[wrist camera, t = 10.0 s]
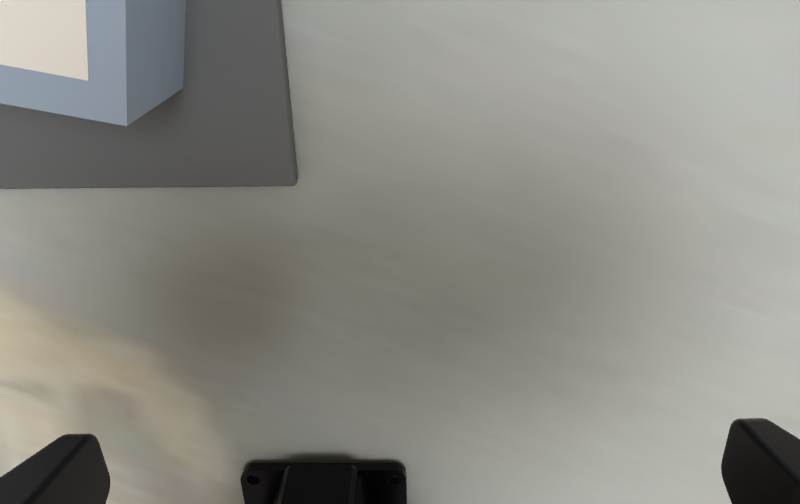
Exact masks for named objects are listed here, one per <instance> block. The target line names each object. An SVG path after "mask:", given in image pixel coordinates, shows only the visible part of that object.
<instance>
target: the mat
mask: <svg viewBox="0 0 800 504" xmlns="http://www.w3.org/2000/svg"><path fill="white" fill-rule="evenodd" d="M297 179H298V177H297V166H296V156H295V145H294V134H293V124H292V113H291V103H290V92H289V82H288V71H287V61H286V50H285V39H284V29H283V18H282V8H281V0H186V14H185V47H184V80H183V88H182V89H181V90H180V91H178V92H177V93H175V94H174V95H172V96H171V97H169V98H168V99H166V100H165V101H163V102H162V103H160V104H159V105H157V106H156V107H154V108H153V109H151V110H150V111H149V112H147V113H146V114H144V115H143V116H141V117H140V118H138V119H137V120H135V121H134V122H132V123H131V124H129V125H128V126H123V125H117V124H112V123H106V122H101V121H95V120H90V119H84V118H79V117H73V116H68V115H62V114H57V113H51V112H46V111H40V110H35V109H29V108H23V107H18V106H12V105H7V104H1V103H0V189H29V188H124V187H219V186H295V184H296V182H297Z"/></svg>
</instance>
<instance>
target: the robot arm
mask: <svg viewBox="0 0 800 504" xmlns="http://www.w3.org/2000/svg"><path fill="white" fill-rule="evenodd" d="M721 471H722V477H723V481H724V484H725V486H726V489H727V492H728V494H729V497H730V500H731V503H732V504H800V439H798V438H797V437H795V436H794V435H792V434H790V433H789V432H787V431H785V430H784V429H782V428H781V427H779V426H777V425H776V424H774V423H773V422H771V421H769V420H767V419H763V418H748V419H737V420H735V421H733V423H732V424H731V427H730V430H729V434H728V438H727V442H726V446H725V450H724V454H723V458H722V464H721ZM252 475H255V476H257V477H254V476H252ZM391 475H396V477H392V476H391ZM241 484H242V490H243V496H244V501H245V504H407V482H406V469H405V468H404V467H403V465H401V464H399V463H250V464H248V465H246V466H245V467H244V469H243V472H242V475H241ZM109 489H110V476H109V472H108V469H107V466H106V463H105V460H104V457H103V454H102V451H101V448H100V445H99V442H98V440H97V438H96V437H95V436H94V435H92V434H67V435H63V436H61V437H59V438H58V439H56V440H55V441H53V442H52V443H50V444H49V445H47V446H46V447H45V448H43V449H42V450H40V451H39V452H37V453H36V454H34V455H33V456H31V457H30V458H28V459H27V460H25V461H24V462H22V463H21V464H19V465H18V466H16V467H15V468H14V469H12V470H11V471H9V472H8V473H6V474H5V475H3V476H2V477H0V504H105V503H106V500H107V497H108V494H109Z"/></svg>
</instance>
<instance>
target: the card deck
mask: <svg viewBox="0 0 800 504" xmlns="http://www.w3.org/2000/svg"><path fill="white" fill-rule="evenodd" d="M185 14H186V0H0V103H1V104H7V105H12V106H18V107H23V108H29V109H35V110H40V111H46V112H51V113H57V114H62V115H68V116H73V117H79V118H84V119H90V120H95V121H101V122H106V123H112V124H117V125H123V126H128V125H129V124H131V123H132V122H134V121H135V120H137V119H138V118H140V117H141V116H143V115H144V114H146V113H147V112H149V111H150V110H151V109H153V108H154V107H156V106H157V105H159V104H160V103H162V102H163V101H165V100H166V99H168V98H169V97H171V96H172V95H174V94H175V93H177V92H178V91H180V90H181V89H182V88H183V80H184V47H185Z"/></svg>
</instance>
